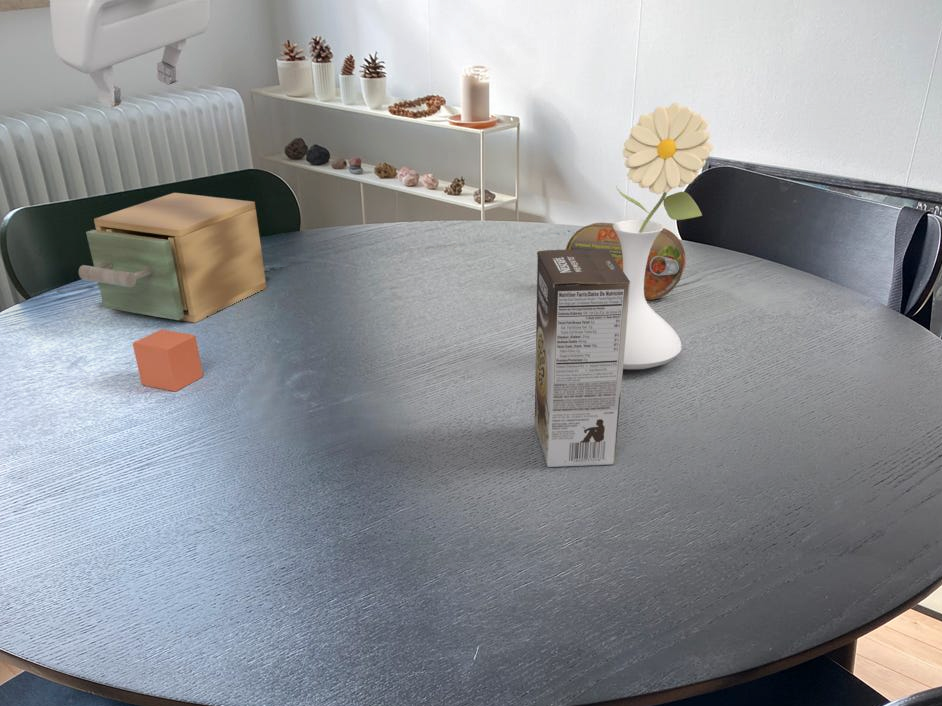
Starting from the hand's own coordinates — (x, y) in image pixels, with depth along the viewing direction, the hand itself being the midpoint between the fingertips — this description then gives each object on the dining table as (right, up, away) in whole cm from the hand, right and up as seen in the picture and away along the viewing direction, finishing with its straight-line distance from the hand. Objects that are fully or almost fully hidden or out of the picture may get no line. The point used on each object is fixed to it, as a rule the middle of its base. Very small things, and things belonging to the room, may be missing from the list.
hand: (139, 92), depth 107 cm
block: (+5, -32, -4) cm, 33 cm away
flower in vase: (+54, -30, 0) cm, 61 cm away
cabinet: (0, -16, +18) cm, 24 cm away
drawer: (-2, -18, +14) cm, 23 cm away
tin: (+55, -16, +18) cm, 60 cm away
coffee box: (+45, -42, -17) cm, 64 cm away
